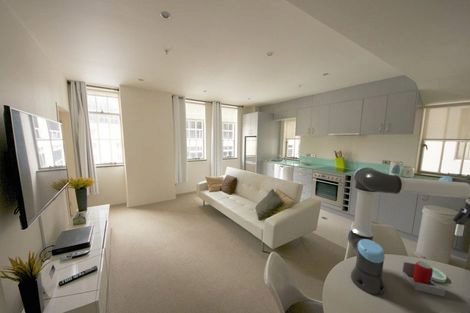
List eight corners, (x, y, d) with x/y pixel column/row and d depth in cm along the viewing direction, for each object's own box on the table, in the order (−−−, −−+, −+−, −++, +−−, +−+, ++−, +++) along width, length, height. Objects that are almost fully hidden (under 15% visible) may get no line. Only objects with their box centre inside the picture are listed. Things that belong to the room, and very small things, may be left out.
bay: (415, 289, 94) (417, 276, 93) (401, 272, 106) (403, 260, 105) (444, 296, 90) (446, 283, 89) (426, 278, 102) (428, 265, 101)
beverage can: (433, 290, 94) (437, 270, 92) (419, 287, 95) (422, 268, 94) (422, 280, 100) (426, 261, 99) (409, 277, 102) (412, 259, 100)
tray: (423, 278, 101) (424, 276, 101) (409, 263, 114) (409, 260, 113) (452, 285, 97) (453, 282, 97) (434, 268, 110) (435, 265, 109)
